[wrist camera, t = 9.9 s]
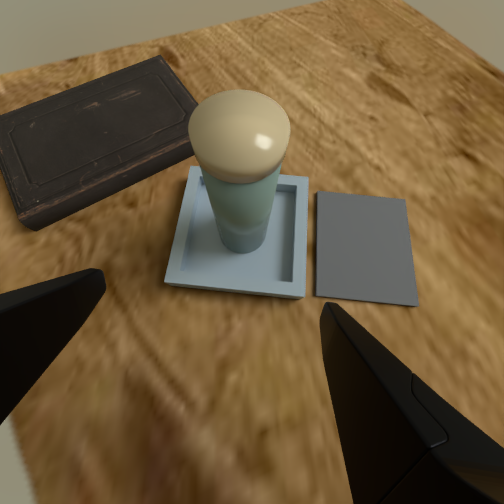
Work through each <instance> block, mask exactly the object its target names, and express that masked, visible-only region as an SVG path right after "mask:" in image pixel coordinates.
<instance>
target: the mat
mask: <svg viewBox="0 0 504 504" xmlns="http://www.w3.org/2000/svg"><path fill="white" fill-rule="evenodd" d="M315 296H320V297H330V298H339V299H349V300H358V301H368V302H377V303H386V304H396V305H405V306H415V307H417V306H419V302H418V294H417V287H416V279H415V271H414V264H413V256H412V248H411V240H410V233H409V225H408V217H407V209H406V202H405V199H396V198H386V197H375V196H365V195H355V194H345V193H334V192H324V191H318V192H317V218H316V293H315Z"/></svg>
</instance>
